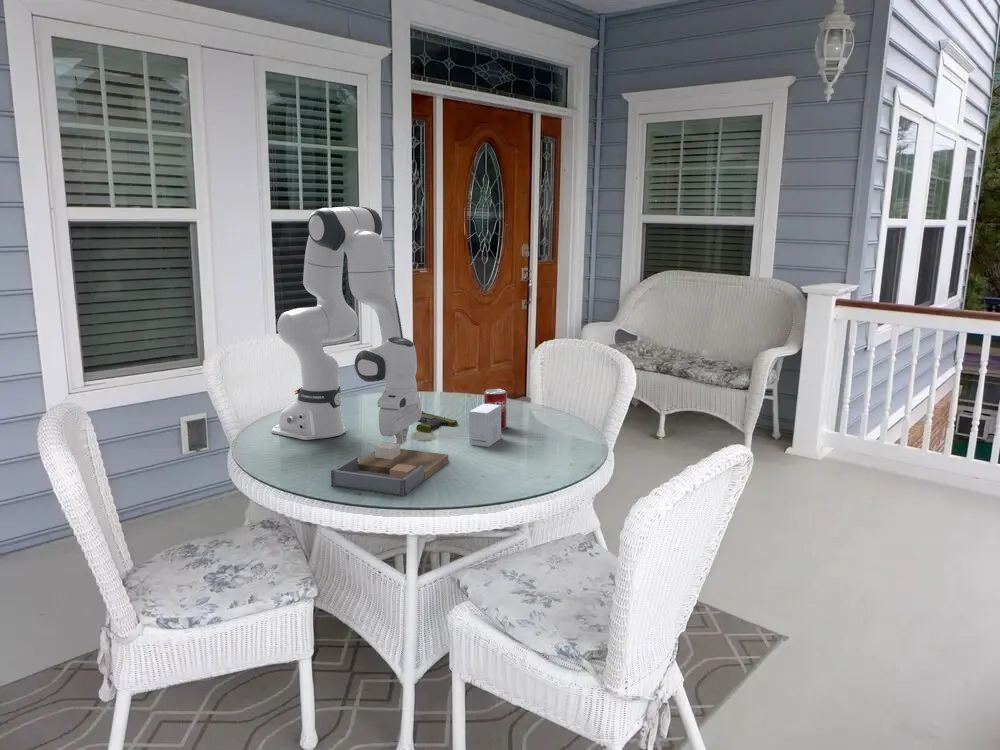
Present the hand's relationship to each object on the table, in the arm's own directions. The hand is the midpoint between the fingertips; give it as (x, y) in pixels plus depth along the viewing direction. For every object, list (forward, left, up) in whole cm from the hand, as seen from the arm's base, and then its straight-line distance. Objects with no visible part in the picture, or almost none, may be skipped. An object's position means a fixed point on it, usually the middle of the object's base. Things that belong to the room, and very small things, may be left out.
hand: (401, 443), depth 220 cm
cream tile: (0, -9, -1) cm, 9 cm away
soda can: (+16, +35, -3) cm, 39 cm away
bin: (+5, -24, -3) cm, 25 cm away
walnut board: (+5, -10, -3) cm, 11 cm away
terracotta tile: (+10, -20, -3) cm, 23 cm away
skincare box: (+18, +20, -3) cm, 27 cm away
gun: (-7, +32, -4) cm, 33 cm away
